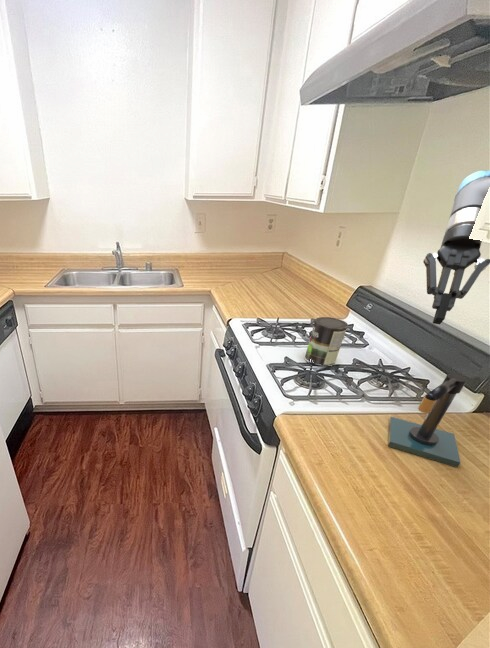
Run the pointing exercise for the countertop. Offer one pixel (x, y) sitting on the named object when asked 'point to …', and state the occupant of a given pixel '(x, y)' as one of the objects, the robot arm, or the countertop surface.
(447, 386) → the spout
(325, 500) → the countertop surface
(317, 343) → the coffee can
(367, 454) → the countertop surface
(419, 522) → the countertop surface
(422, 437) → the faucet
